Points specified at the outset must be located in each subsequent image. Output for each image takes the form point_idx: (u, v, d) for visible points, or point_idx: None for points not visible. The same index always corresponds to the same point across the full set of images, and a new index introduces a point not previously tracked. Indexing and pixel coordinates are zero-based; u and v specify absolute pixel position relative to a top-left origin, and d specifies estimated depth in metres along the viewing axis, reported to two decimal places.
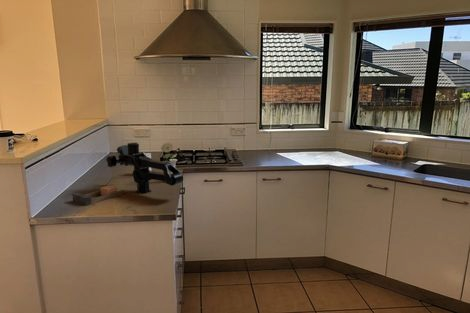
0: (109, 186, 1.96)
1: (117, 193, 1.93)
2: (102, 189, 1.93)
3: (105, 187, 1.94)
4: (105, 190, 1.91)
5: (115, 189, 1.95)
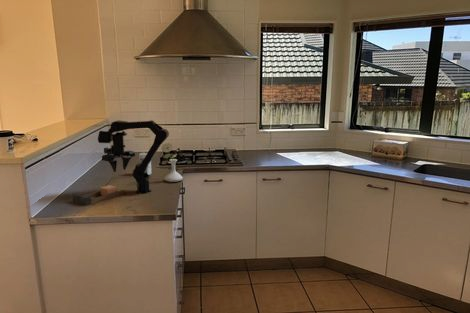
0: (109, 186, 1.96)
1: (117, 193, 1.93)
2: (102, 189, 1.93)
3: (105, 187, 1.94)
4: (105, 190, 1.91)
5: (115, 189, 1.95)
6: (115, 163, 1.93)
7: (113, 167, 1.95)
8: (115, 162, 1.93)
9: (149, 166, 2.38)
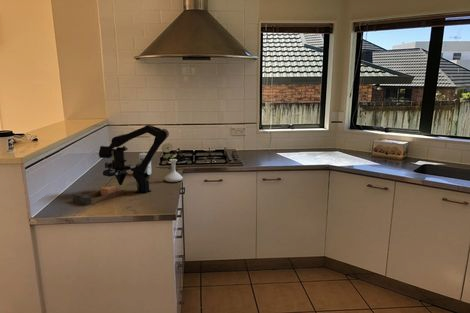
0: (109, 186, 1.96)
1: (117, 193, 1.93)
2: (102, 189, 1.93)
3: (105, 187, 1.94)
4: (105, 190, 1.91)
5: (115, 189, 1.95)
6: (121, 177, 1.98)
7: (119, 180, 1.99)
8: (121, 176, 1.97)
9: (149, 166, 2.38)
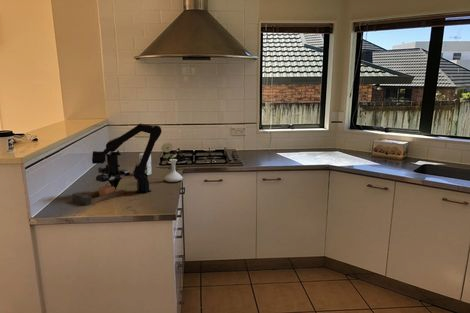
0: (107, 186, 1.95)
1: (117, 193, 1.93)
2: (100, 189, 1.92)
3: (103, 187, 1.93)
4: (103, 190, 1.91)
5: (113, 189, 1.94)
6: (114, 182, 1.95)
7: None
8: (114, 181, 1.94)
9: (149, 166, 2.38)
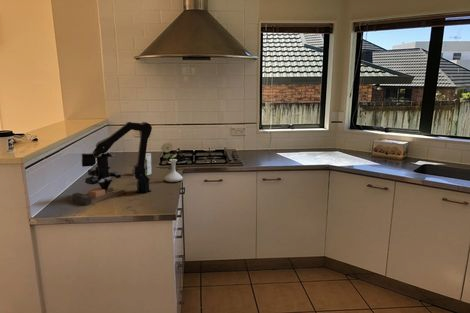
0: (97, 189, 1.90)
1: (117, 193, 1.93)
2: (90, 192, 1.86)
3: (93, 190, 1.87)
4: (93, 193, 1.85)
5: (104, 192, 1.89)
6: (104, 184, 1.89)
7: (102, 188, 1.91)
8: (104, 183, 1.89)
9: (149, 166, 2.38)
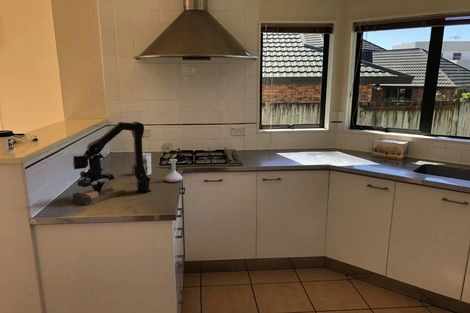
0: (90, 191, 1.86)
1: (117, 193, 1.93)
2: None
3: (86, 192, 1.84)
4: None
5: (97, 194, 1.85)
6: (97, 187, 1.86)
7: (95, 190, 1.87)
8: (97, 186, 1.85)
9: (149, 166, 2.38)
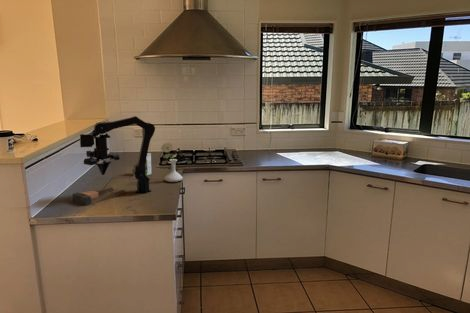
0: (90, 191, 1.86)
1: (117, 193, 1.93)
2: None
3: (86, 192, 1.84)
4: None
5: (97, 195, 1.85)
6: (103, 166, 1.87)
7: (101, 170, 1.89)
8: (103, 165, 1.87)
9: (149, 166, 2.38)
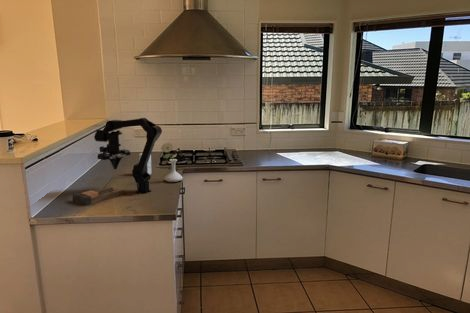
0: (90, 191, 1.86)
1: (117, 193, 1.93)
2: None
3: (86, 192, 1.84)
4: None
5: (97, 195, 1.85)
6: (115, 161, 1.99)
7: (113, 164, 2.01)
8: (115, 160, 1.99)
9: (149, 166, 2.38)
